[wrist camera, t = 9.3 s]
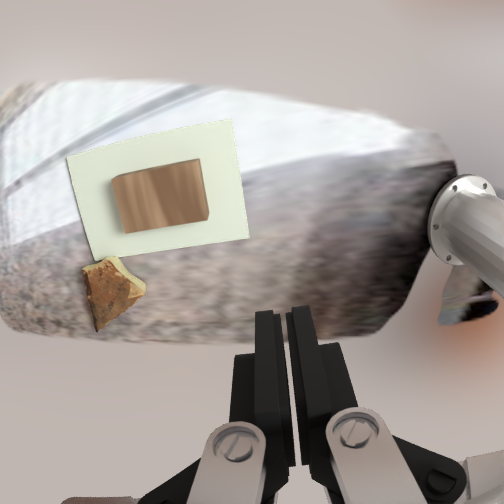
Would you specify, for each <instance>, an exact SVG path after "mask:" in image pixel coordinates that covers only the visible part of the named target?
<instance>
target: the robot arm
mask: <svg viewBox="0 0 504 504" xmlns="http://www.w3.org/2000/svg"><path fill="white" fill-rule="evenodd" d="M427 229H428V239H429V243H430V246H431V248H432V250H433V251H434V253H435V254H436V255H437V256H438V257H439V258H440V259H441V260H442V261H444V262H445V263H447V264H451V265H463V264H465V265H466V266H467V267H468V268H470V269H471V270H472V271H473V272H474V273H475V274H477V275H478V276H479V277H480V278H481V279H482V280H483V281H485V282H486V283H487V284H488V285H489V286H490V287H491V288H492V289H493V290H495V291H496V292H497V293H498V294H499V295H500V296H501V297H502V298H503V299H504V200H502V199H500V198H497V197H496V193H495V191H494V189H493V187H492V186H491V185H490V184H489V182H487V181H486V180H485V179H484V178H482V177H479V176H477V175H473V174H463V175H460V176H457V177H455V178H453V179H452V180H450V181H449V182H448V183H447V184H445V185H444V187H443V188H442V189H441V190H440V191H439V193H438V195H437V196H436V198H435V200H434V202H433V204H432V207H431V210H430V214H429V218H428V226H427ZM286 322H287V331H288V340H289V349H290V358H291V366H292V376H293V386H294V395H295V403H296V413H297V422H298V432H299V442H300V451H301V462H302V465H309V469H310V474H311V477H312V479H313V480H315V481H316V482H318V483H320V484H322V485H323V486H324V490H325V493H326V496H327V500H328V503H329V504H504V450H501V451H497V452H492V453H488V454H483V455H478V456H473V457H467V458H466V459H465V461H460V462H456V461H454V460H453V459H450V458H447V457H445V456H442V455H440V454H437V453H435V452H432V451H429V450H427V449H424V448H422V447H419V446H417V445H415V444H412V443H410V442H407V441H405V440H403V439H400V438H398V437H396V436H393V435H391V433H390V431H389V429H388V428H387V426H386V424H385V422H384V420H383V419H382V418H381V417H380V415H379V414H377V413H376V412H374V411H373V410H370V409H367V408H361V407H358V404H357V401H356V397H355V394H354V390H353V387H352V383H351V380H350V377H349V373H348V370H347V367H346V364H345V360H344V357H343V354H342V351H341V347H340V345H339V343H338V342H336V343H329V344H323V345H318V341H317V336H316V332H315V328H314V324H313V320H312V316H311V311H310V307H309V305H306V306H299V307H292V312H288V313H286ZM287 376H288V375H287V367H286V358H285V350H284V342H283V334H282V326H281V318H280V314H273V310H268V311H259V312H255V353H252V354H240V355H235V358H234V369H233V381H232V392H231V404H230V416H229V423H227V424H223V425H222V426H220V427H218V428H217V429H215V430H214V431H213V432H212V433H211V434H210V436H209V438H208V440H207V442H206V445H205V448H204V451H203V455H202V457H201V458H200V459H198V460H197V461H195V462H194V463H193V464H191V465H190V466H188V467H187V468H185V469H184V470H183V471H181V472H180V473H178V474H177V475H175V476H174V477H172V478H171V479H169V480H168V481H166V482H165V483H163V484H162V485H160V486H159V487H157V488H155V489H154V490H152V491H151V492H149V493H147V494H146V495H145V496H143V497H142V498H139V499H133V498H132V497H131V496H130V497H129V496H128V497H72V498H68V499H66V500H64V501H63V502H62V503H61V504H277V498H278V490H279V489H280V488H282V487H283V486H284V485H285V484H286V483H287V482H288V476H289V467H293V466H296V462H295V450H294V439H293V427H292V417H291V406H290V395H289V385H288V377H287Z"/></svg>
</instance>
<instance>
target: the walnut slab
mask: <svg viewBox="0 0 504 504" xmlns="http://www.w3.org/2000/svg"><path fill="white" fill-rule="evenodd" d="M111 181H112V185H113V189H114V193H115V197H116V201H117V205H118V209H119V213H120V217H121V221H122V225H123V228H124V232H125V234H128V233H134V232H140V231H145V230H151V229H157V228H163V227H169V226H175V225H182V224H188V223H194V222H201V221H207V220H208V217H209V207H208V202H207V196H206V191H205V185H204V180H203V174H202V168H201V163H200V158H198V159H192V160H187V161H181V162H176V163H171V164H166V165H161V166H156V167H151V168H147V169H142V170H137V171H133V172H128V173H124V174H120V175H118V176H116V177H114V178H113V179H111Z"/></svg>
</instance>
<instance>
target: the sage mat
mask: <svg viewBox="0 0 504 504" xmlns="http://www.w3.org/2000/svg"><path fill="white" fill-rule="evenodd" d="M198 158H200V163H201V168H202V174H203V180H204V185H205V191H206V196H207V202H208V207H209V217H208V220H207V221H201V222H194V223H188V224H182V225H175V226H169V227H163V228H157V229H151V230H145V231H140V232H134V233H128V234H125V232H124V228H123V225H122V221H121V217H120V213H119V209H118V205H117V201H116V197H115V193H114V189H113V185H112V181H111V179H113V178H114V177H116V176H118V175H120V174H124V173H128V172H133V171H137V170H142V169H147V168H151V167H156V166H161V165H166V164H171V163H176V162H181V161H187V160H192V159H198ZM67 162H68V166H69V171H70V175H71V179H72V184H73V188H74V192H75V195H76V199H77V203H78V207H79V210H80V214H81V217H82V221H83V224H84V228H85V231H86V234H87V238H88V241H89V244H90V247H91V250H92V253H93V256H94V259H95V261H99V260H104V259H105V258H106V257H108V256H110V257H115V256H117V257H124V256H131V255H137V254H144V253H151V252H157V251H164V250H171V249H177V248H184V247H191V246H198V245H205V244H211V243H218V242H225V241H232V240H239V239H247V238H250V237H249V230H248V223H247V216H246V210H245V203H244V196H243V190H242V183H241V176H240V170H239V163H238V156H237V150H236V143H235V136H234V130H233V123H232V119H228V120H221V121H215V122H209V123H204V124H198V125H193V126H187V127H182V128H177V129H172V130H168V131H163V132H158V133H154V134H149V135H145V136H141V137H137V138H133V139H129V140H125V141H121V142H117V143H113V144H110V145H106V146H102V147H99V148H95V149H92V150H89V151H85V152H82V153H79V154H75V155H72V156H69V157H67Z"/></svg>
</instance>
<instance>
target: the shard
mask: <svg viewBox="0 0 504 504" xmlns="http://www.w3.org/2000/svg"><path fill="white" fill-rule="evenodd" d="M82 272H83V277H84V283H85V286H86V293H87V298H88V304H89V307H90V311H91V314H92V317H93V320H94V324H95V325H94V327H95V329H96V332H98V331H99V330H100V329H102V328H103V327H104V326H105V325H106V324H107V323H109V322H110V321H111V320H113V319H115V318H116V317H118V316H119V315H120V314H121V313H123V312H125V311H126V310H127V309H128V308H129V307H131V306H132V305H133V304H134V303H135V302H137V300H138V299H139V298H140V297H142V296H143V295H144V293H145V292H146V284H145V283H144V282H142V281H141V280H140V279H138V278H137V277H135V276H134V275H132V274H131V273H130V272H128V271H127V269H126V268H125V266H124V265H123V263H122V262H121V261H120V260H119V259H118V257H117V256H115V257H110V256H108V257H106V258H105V259H104V260H103V261H102V262H98V263H96V264H92V265H88V266H85V267H84V268H83V269H82Z"/></svg>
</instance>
